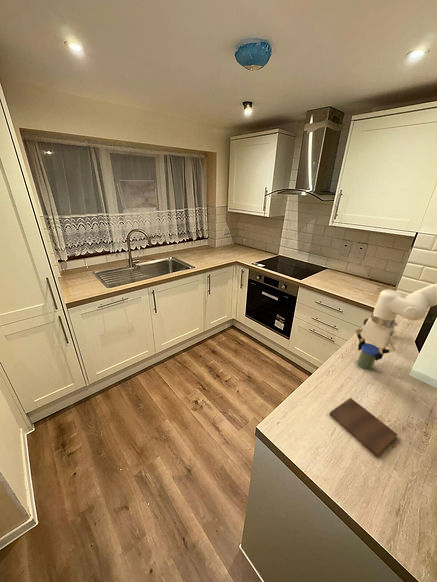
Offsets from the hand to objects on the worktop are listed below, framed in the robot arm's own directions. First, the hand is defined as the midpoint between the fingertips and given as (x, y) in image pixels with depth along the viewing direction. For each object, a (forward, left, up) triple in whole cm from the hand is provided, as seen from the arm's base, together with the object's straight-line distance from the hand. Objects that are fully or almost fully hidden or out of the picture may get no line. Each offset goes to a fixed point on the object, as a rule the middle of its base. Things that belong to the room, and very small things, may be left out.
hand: (368, 353), depth 102 cm
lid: (0, 0, +3) cm, 3 cm away
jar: (0, 0, -7) cm, 7 cm away
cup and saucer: (+14, -35, -7) cm, 39 cm away
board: (-16, +30, -7) cm, 35 cm away
